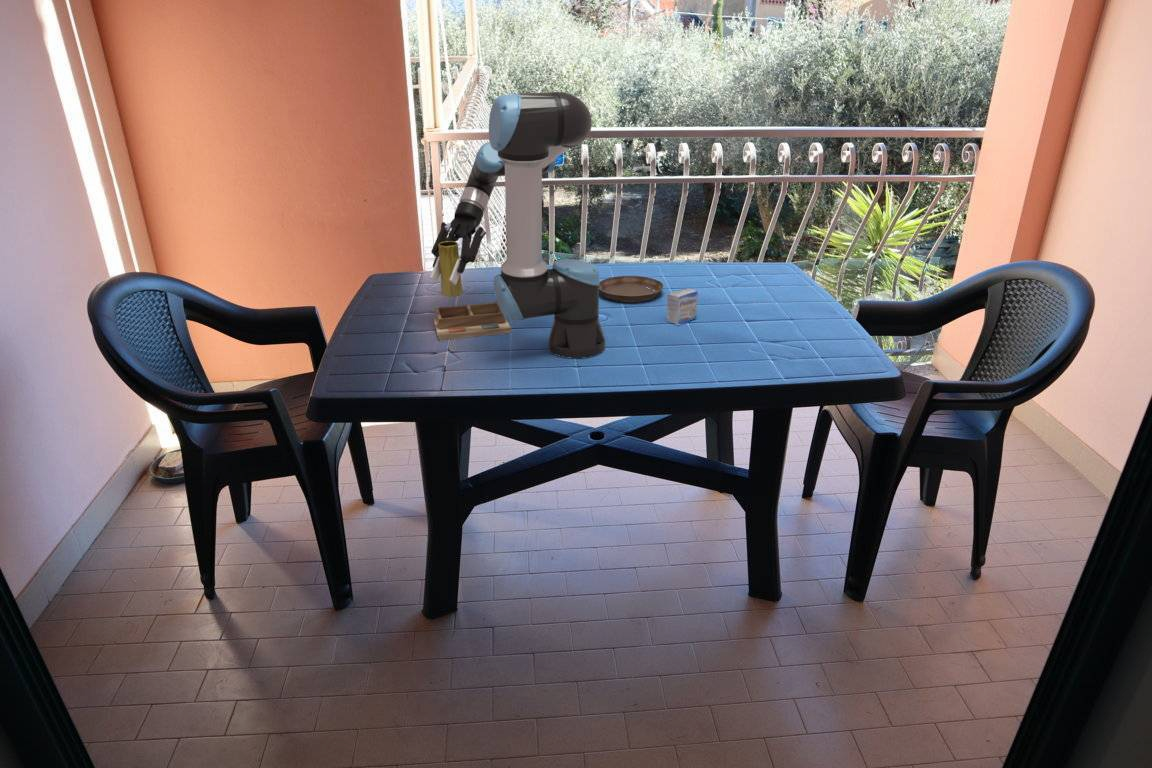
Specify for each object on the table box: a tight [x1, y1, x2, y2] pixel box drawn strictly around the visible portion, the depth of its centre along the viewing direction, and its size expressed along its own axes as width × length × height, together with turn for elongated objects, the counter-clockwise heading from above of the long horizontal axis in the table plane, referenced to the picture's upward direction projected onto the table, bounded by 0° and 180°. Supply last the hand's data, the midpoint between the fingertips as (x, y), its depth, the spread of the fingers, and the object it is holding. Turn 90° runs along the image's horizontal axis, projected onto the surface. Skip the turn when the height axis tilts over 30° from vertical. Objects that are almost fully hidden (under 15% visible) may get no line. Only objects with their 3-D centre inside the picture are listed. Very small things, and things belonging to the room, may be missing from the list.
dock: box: [433, 301, 512, 341], centre depth 221 cm, size 14×20×4 cm
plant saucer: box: [599, 275, 665, 303], centre depth 246 cm, size 21×21×3 cm
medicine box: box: [666, 287, 699, 325], centre depth 224 cm, size 8×4×9 cm, turn 129°
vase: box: [438, 241, 464, 298], centre depth 215 cm, size 6×6×14 cm
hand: (443, 280), depth 214 cm, fingers closed on vase, 5 cm apart
